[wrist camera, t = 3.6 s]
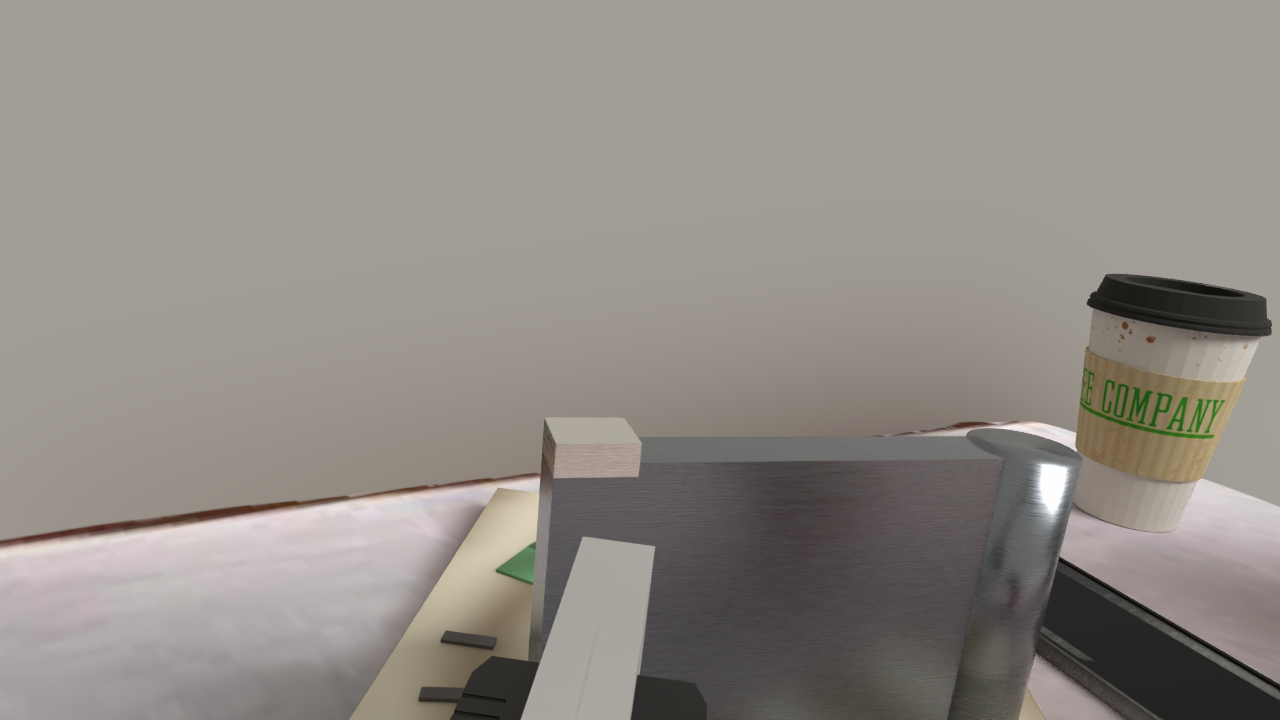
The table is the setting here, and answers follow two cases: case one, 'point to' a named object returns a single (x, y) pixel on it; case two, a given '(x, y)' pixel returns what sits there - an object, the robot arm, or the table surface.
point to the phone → (1145, 657)
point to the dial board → (476, 619)
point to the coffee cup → (1159, 392)
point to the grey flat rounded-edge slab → (820, 563)
